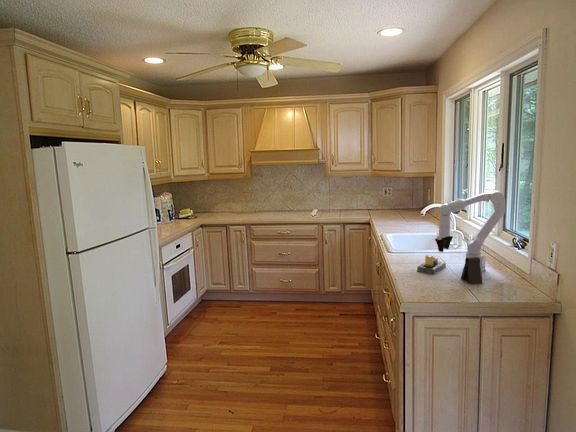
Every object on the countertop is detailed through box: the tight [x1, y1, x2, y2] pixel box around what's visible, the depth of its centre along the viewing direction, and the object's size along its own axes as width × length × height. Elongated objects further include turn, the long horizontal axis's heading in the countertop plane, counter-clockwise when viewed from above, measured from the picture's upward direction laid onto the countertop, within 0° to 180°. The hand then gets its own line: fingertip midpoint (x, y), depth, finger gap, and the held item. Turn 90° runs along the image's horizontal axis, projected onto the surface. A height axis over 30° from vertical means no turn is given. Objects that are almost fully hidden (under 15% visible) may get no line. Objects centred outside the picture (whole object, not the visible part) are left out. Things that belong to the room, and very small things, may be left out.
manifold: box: [416, 256, 447, 275], centre depth 214 cm, size 9×16×6 cm, turn 137°
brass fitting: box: [424, 255, 434, 268], centre depth 211 cm, size 4×4×8 cm
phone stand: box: [460, 257, 484, 285], centre depth 193 cm, size 9×6×12 cm, turn 6°
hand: (443, 250), depth 217 cm, fingers open, 7 cm apart
